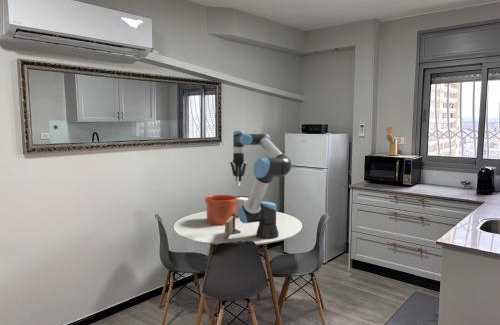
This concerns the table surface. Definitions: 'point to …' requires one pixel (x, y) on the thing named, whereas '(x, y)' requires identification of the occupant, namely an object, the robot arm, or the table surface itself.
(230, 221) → the gate leaf
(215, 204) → the pot
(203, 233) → the table surface
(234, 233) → the gate post
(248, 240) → the table surface
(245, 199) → the supplement box
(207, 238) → the table surface
